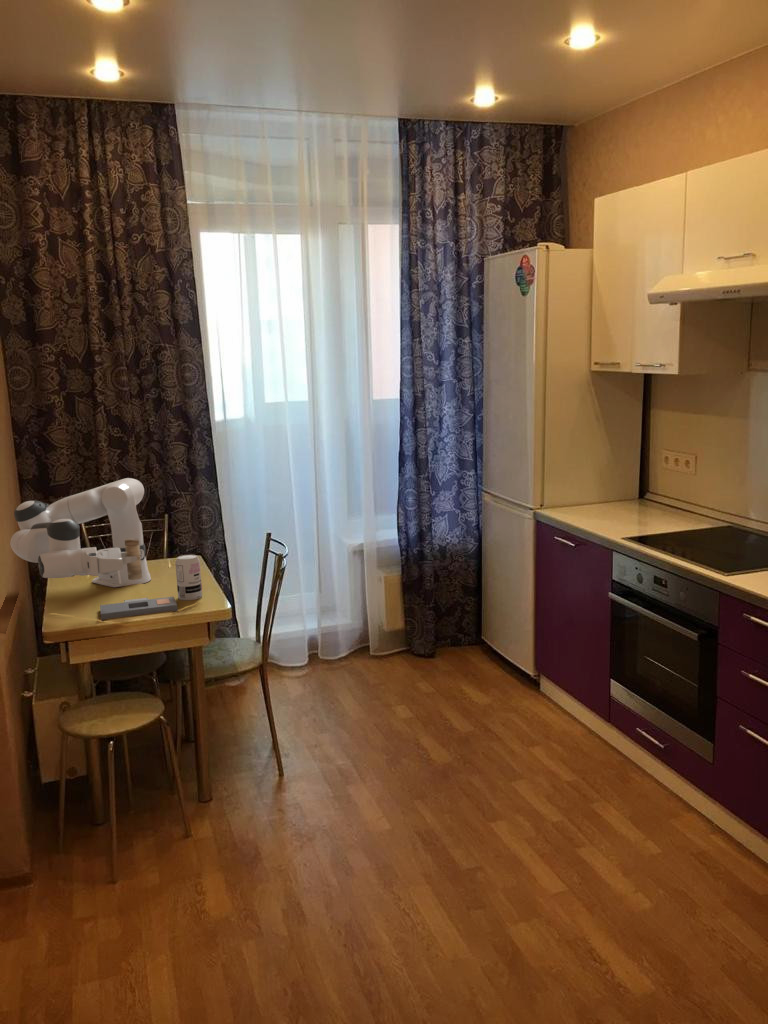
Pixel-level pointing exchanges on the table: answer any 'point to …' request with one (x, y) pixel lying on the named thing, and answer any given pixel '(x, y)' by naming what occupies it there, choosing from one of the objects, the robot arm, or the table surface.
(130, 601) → the pad
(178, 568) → the supplement can
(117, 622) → the table surface
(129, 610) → the socket board
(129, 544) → the maple peg
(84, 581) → the table surface
